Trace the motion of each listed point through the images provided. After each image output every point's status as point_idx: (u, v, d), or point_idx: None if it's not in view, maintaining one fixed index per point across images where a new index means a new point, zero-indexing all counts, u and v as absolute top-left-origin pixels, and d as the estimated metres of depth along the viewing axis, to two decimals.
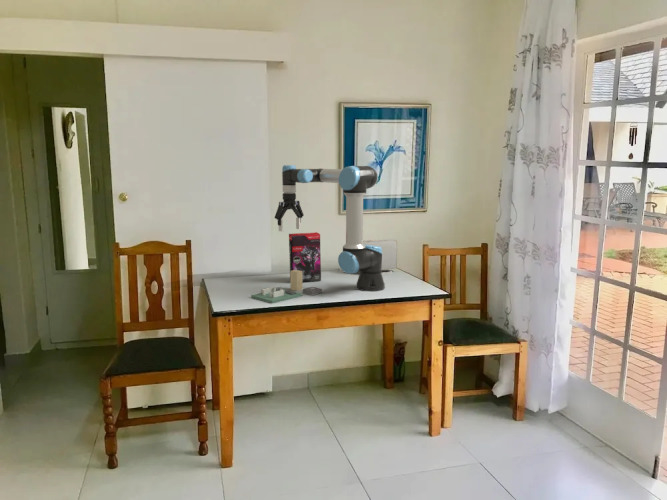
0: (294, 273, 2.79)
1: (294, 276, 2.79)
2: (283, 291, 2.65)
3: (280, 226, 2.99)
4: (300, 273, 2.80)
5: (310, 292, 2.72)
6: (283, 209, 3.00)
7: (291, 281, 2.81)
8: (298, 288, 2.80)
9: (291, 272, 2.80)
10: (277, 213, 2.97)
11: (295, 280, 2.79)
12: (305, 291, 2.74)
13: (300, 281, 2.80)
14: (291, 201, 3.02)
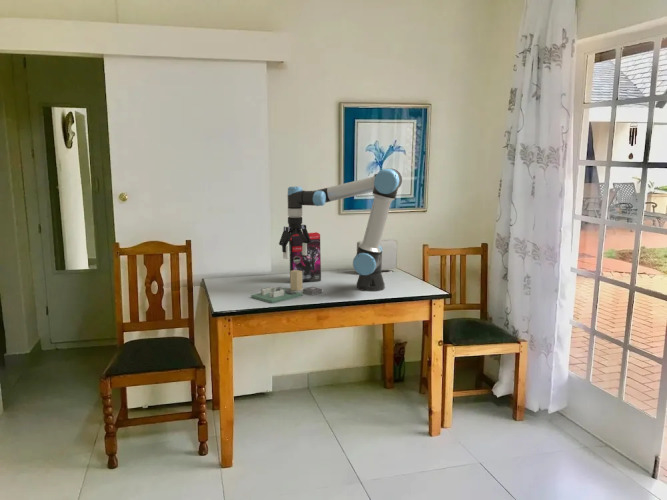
0: (294, 273, 2.79)
1: (294, 276, 2.79)
2: (283, 291, 2.65)
3: (285, 253, 2.74)
4: (300, 273, 2.80)
5: (310, 292, 2.72)
6: (288, 234, 2.75)
7: (291, 281, 2.81)
8: (298, 288, 2.80)
9: (291, 272, 2.80)
10: (282, 239, 2.72)
11: (295, 280, 2.79)
12: (305, 291, 2.74)
13: (300, 281, 2.80)
14: (297, 225, 2.77)
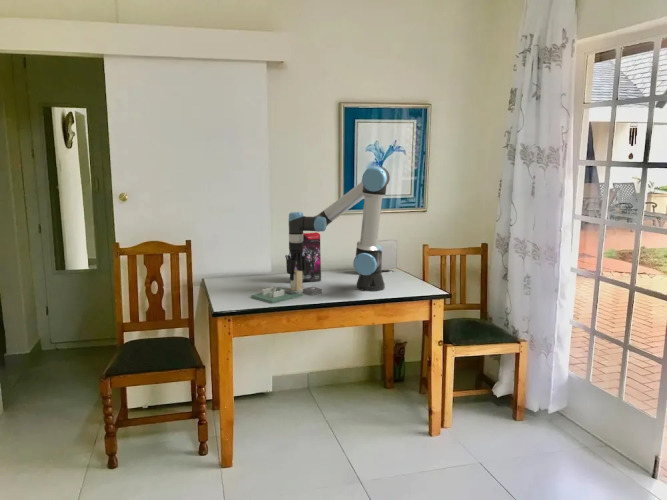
0: (294, 273, 2.79)
1: None
2: (283, 291, 2.65)
3: (293, 281, 2.79)
4: (300, 273, 2.80)
5: (310, 292, 2.72)
6: (292, 262, 2.78)
7: None
8: (298, 288, 2.80)
9: None
10: (288, 268, 2.76)
11: (295, 280, 2.79)
12: (305, 291, 2.74)
13: (300, 281, 2.80)
14: (298, 251, 2.79)
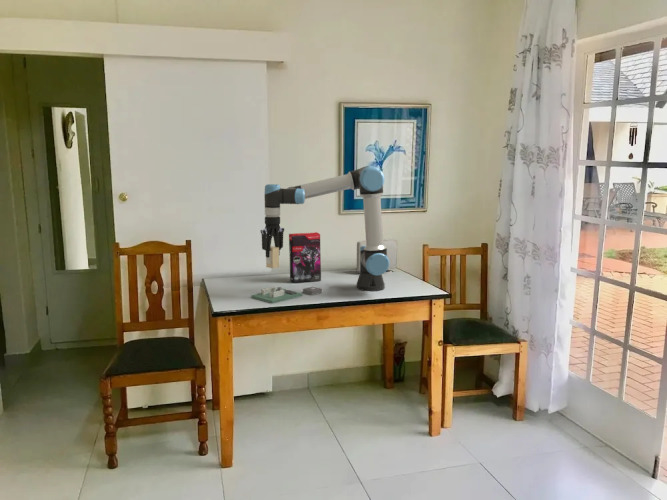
0: (270, 249, 2.62)
1: None
2: (283, 291, 2.65)
3: (268, 258, 2.62)
4: (276, 249, 2.62)
5: (310, 292, 2.72)
6: (268, 237, 2.61)
7: None
8: (274, 265, 2.62)
9: None
10: (263, 244, 2.59)
11: (271, 257, 2.62)
12: (305, 291, 2.74)
13: (276, 258, 2.63)
14: (275, 226, 2.61)
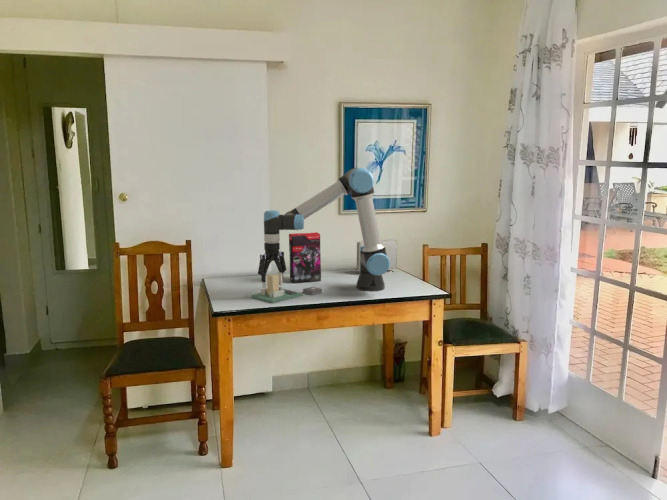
0: (270, 277, 2.63)
1: (270, 280, 2.63)
2: (283, 291, 2.65)
3: (264, 283, 2.61)
4: (276, 277, 2.64)
5: (310, 292, 2.72)
6: (266, 262, 2.61)
7: (267, 286, 2.65)
8: None
9: (267, 276, 2.64)
10: (260, 268, 2.58)
11: (271, 285, 2.63)
12: (305, 291, 2.74)
13: (276, 286, 2.64)
14: (274, 252, 2.62)
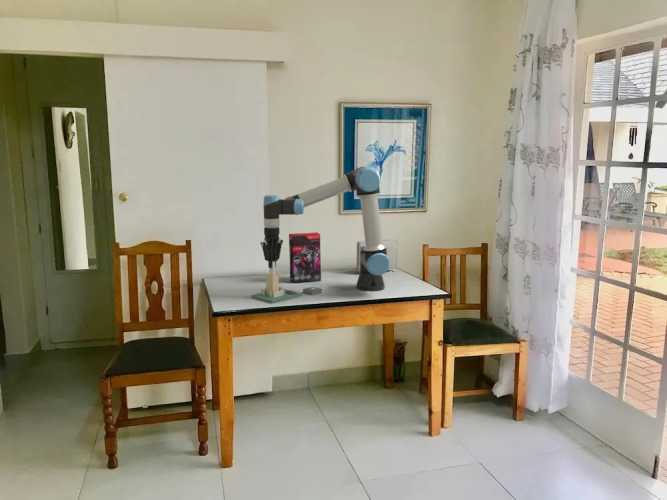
0: (270, 277, 2.63)
1: (270, 280, 2.63)
2: (283, 291, 2.65)
3: (271, 269, 2.63)
4: (276, 277, 2.64)
5: (310, 292, 2.72)
6: (268, 248, 2.61)
7: (267, 286, 2.65)
8: None
9: (267, 276, 2.64)
10: (265, 255, 2.60)
11: (271, 285, 2.63)
12: (305, 291, 2.74)
13: (276, 286, 2.64)
14: (274, 236, 2.61)
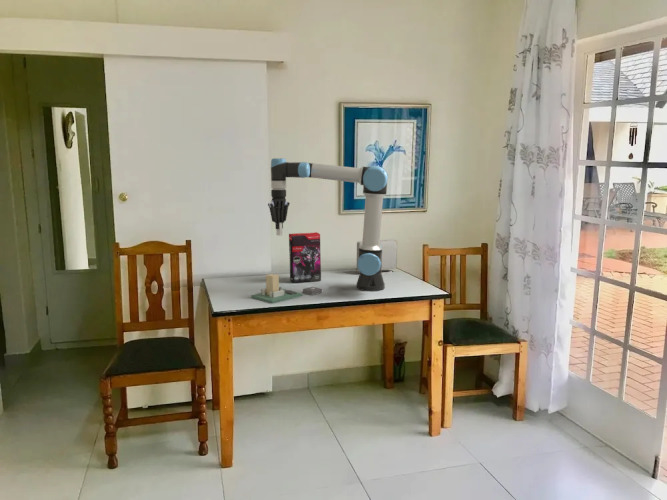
0: (270, 277, 2.63)
1: (270, 280, 2.63)
2: (283, 291, 2.65)
3: (278, 230, 2.73)
4: (276, 277, 2.64)
5: (310, 292, 2.72)
6: (276, 210, 2.71)
7: (267, 286, 2.65)
8: None
9: (267, 276, 2.64)
10: (272, 216, 2.70)
11: (271, 285, 2.63)
12: (305, 291, 2.74)
13: (276, 286, 2.64)
14: (281, 198, 2.71)
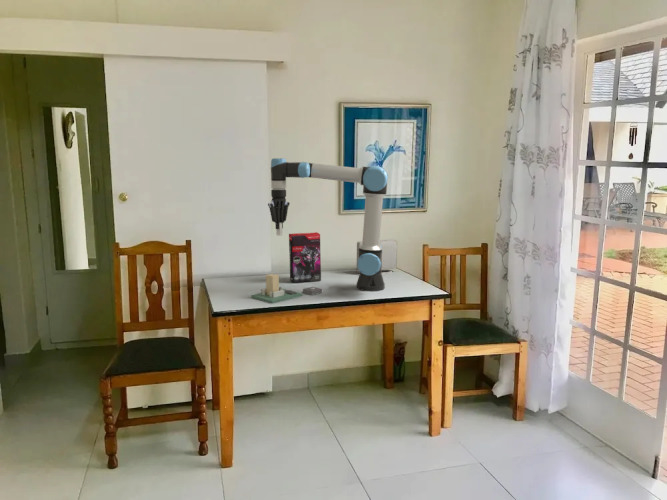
0: (270, 277, 2.63)
1: (270, 280, 2.63)
2: (283, 291, 2.65)
3: (278, 230, 2.73)
4: (276, 277, 2.64)
5: (310, 292, 2.72)
6: (276, 210, 2.71)
7: (267, 286, 2.65)
8: None
9: (267, 276, 2.64)
10: (272, 216, 2.70)
11: (271, 285, 2.63)
12: (305, 291, 2.74)
13: (276, 286, 2.64)
14: (281, 198, 2.71)
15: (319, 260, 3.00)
